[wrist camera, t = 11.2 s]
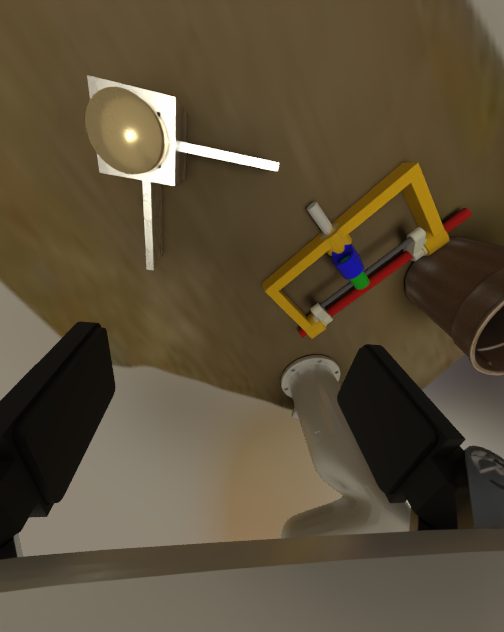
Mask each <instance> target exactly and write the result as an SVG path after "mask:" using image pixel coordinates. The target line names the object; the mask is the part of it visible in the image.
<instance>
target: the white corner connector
mask: <svg viewBox="0 0 504 632" xmlns="http://www.w3.org/2000/svg"><path fill="white" fill-rule="evenodd" d="M87 78H88V86H89V94H90V99H91V98H92V96H93V95H94V94H95V93H96V92H98V91H99V90H101V89H103V88H106V87H120V88H124V89H127V90H129V91H131V92H133V93H134V94H136V95H137V96H138V97H140V98H141V99H142V100H144V101H145V102H146V103H148V104H149V105H150V106H151V107H152V108H153V109H154V110H155V111H156V112H157V113H158V115H159V116H160V118H161V119H162V121H163V123H164V126H165V128H166V132H167V136H168V151H167V155H166V158H165V160H164V161H163V163H162V164H161V165H160V166H159V167H158V168H157V169H155V170H153V171H151V172H146V173H141V174H126V173H122V172H120V171H117V170H115V169H114V168H112V167H111V166H109V165H108V164H107V163H106V162H104V161H103V160H102V159H101V157H100V156H99V155H98V154H97V156H98V164H99V172H100V173H105V174H111V175H116V176H122V177H127V178H133V179H138V180H142V185H143V205H144V225H145V245H146V265H147V270H154V269H155V267H156V265H157V264H158V262H159V260H160V258H161V257H162V255H163V217H162V184H166V185H171V186H176V185H177V184H179V183H180V182H182V181H184V180H185V179H186V153H190V154H195V155H200V156H205V157H210V158H214V159H219V160H224V161H229V162H234V163H239V164H243V165H248V166H253V167H258V168H263V169H267V170H272V171H277V172H278V168H279V163H278V162H273V161H269V160H264V159H259V158H255V157H250V156H245V155H241V154H236V153H231V152H227V151H222V150H217V149H213V148H208V147H203V146H199V145H194V144H190V143H187V119H188V114H187V112H186V111H185V110H184V108H183V107H182V105H181V104H180V102H179V101H178V100H177V98H176V97H173V96H169V95H165V94H161V93H157V92H153V91H149V90H145V89H141V88H137V87H133V86H129V85H125V84H121V83H117V82H113V81H109V80H105V79H101V78H97V77H92V76H88V75H87Z"/></svg>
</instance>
